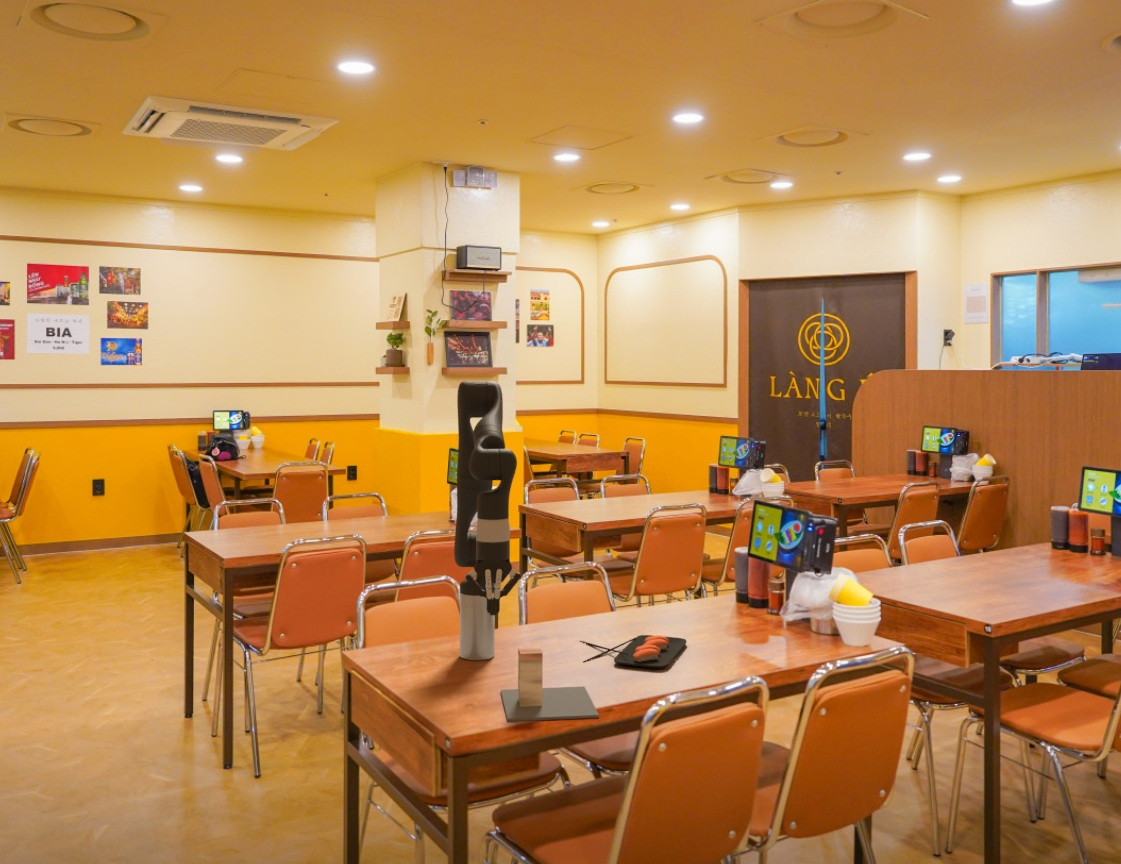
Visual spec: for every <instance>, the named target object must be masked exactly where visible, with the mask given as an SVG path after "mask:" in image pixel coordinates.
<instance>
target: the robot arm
mask: <svg viewBox="0 0 1121 864" xmlns="http://www.w3.org/2000/svg"><path fill="white" fill-rule="evenodd" d="M456 397H457V428H458V429H457V430H458V450H457V467H456V523H455V532H454V533H455V534H454V547H453V550H454V551H453V553H454V554H453V555H454V562H455V564H456V565H457V566H458V567H459V568H473V569H472V570H470V571H469V572H466V573H465V576H464V577H465V579H463V580H462V581H461V582H460V584H459V657H460V658H462V659H464V660H469V661H486V660H489V659H492V658H494V657H495V652H496V651H495V647H496V646H495V644H496V642H495V640H496V638H495V635H496V633H495V630H496V629H495V628H496V626H495V625H496V624H495V622H496V621H495V620H496V619H495V618H496V617H495V616H497V615H498V614H499V612H500V611H501V609H500V607H501V606H500V604H501V603H500V602H501V601H500V600H501V598H503V597H506V596H508V594H510V592H511V591H512V590H513V588H514V587H516V584H517V583H518V582H519V580H520V579H521V577H522V575H521V573H520V572H519V571H516V570H515V569H514V568H513V564H512V563H511V554H510V553H511V552H510V551H511V547H510V546H511V543H510V542H511V527H510V526H511V525H510V521H509V520H510V513H509V511H510V510H509V507H510V494H511V488H512V485H513V480H514V477H515V474H516V470H517V466H518V460H517V456H516V454H515V452H514V451H513V450H512V449H509V448H506V443H505V437H504V431H503V422H504V421H503V420H504V412H503V411H504V409H503V408H504V405H503V404H504V403H503V402H504V400H503V391H502V387H501V385H500V384H499V383H498V382H496V381H493V380H492V381H491V380H464V381H461V382H460V383H459V385H458V388H457V396H456ZM477 418H478V419H479V418H481V419H479V420H478V422H477V423H476V425H475V427H474V428H473V426H472V423H471V419H477ZM493 481H499V484H498V486H497V487H495V488H493V483H494V482H493ZM475 516H477V518H476V519H477V520H476V527H475V529H476V531H469V529H470V527H471V524H472V522H473V520H474V517H475ZM507 577H509V580H508V581H507V583H506V584H505V585H504V587H503V588H502V587H501V585H502V583H503V582H504V581H505V579H506V578H507Z"/></svg>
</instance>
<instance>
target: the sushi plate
mask: <svg viewBox="0 0 1121 864" xmlns="http://www.w3.org/2000/svg"><path fill="white" fill-rule="evenodd" d="M580 641H581V642H580V643H582V642H583V643H582V644H584V643H586V644H585V645H587V644H588V645H587V646H589V645H590V646H589V647H594V648H598V649H602V650H605V651H602V652H601V653H599V654H597V655H594V656H592V657H590V658H588V659H585V660H583V661H582V662H583V663H586V661H587V662H589V660H590V661H591V659H593V660H595V659H594V658H596V659H598V658H600V657H602V656H603V655H606V654H608V653H610V652H614V653H618V654H617V655H616V656H615V657H614V659H613V662H614V663H615V664H618V665H626V666H631V665H632V667H638V666H640V667H639V668H650V669H651V668H659V669H660V668H665V667H668V666H669V665H670V664H671V663H672V662H673V660H674V659H675V658H676V657H677V656H678V654H679V653H680V652H681V651H682V649H684V647H685V646H686V644H687V639H685V638H681V637H674V636H673V637H672V636H664V635H657V634H656V635H651V634H642V635H637V636H635V637H633V638H631V639H629V640H628V641H624V642H622V643H620V644H618V645H617V646H615V647H612V648H608V647H605V646H601V645H597V644H594V643H591V642H586V641H584V640H583V641H582V640H580ZM626 644H627V645H626ZM624 645H626V646H625V647H624V648H623V649H622V650H621V651H619V650H616V649H617V648H620V647H622V646H624ZM597 657H598V658H597Z"/></svg>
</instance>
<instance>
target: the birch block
mask: <svg viewBox="0 0 1121 864" xmlns="http://www.w3.org/2000/svg"><path fill="white" fill-rule="evenodd" d="M517 649H518V650H517V652H518V653H517V654H518V656H517V657H518V658H517V660H518V661H517V663H518V664H517V666H518V667H517V676H518V677H517V689H518V701H519V704H520V707H523V706H542V688H543V651H542V648H541V647H540V646H529V647H527V646H525V647H518V648H517Z"/></svg>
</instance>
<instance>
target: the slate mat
mask: <svg viewBox="0 0 1121 864" xmlns="http://www.w3.org/2000/svg"><path fill="white" fill-rule="evenodd" d="M500 695H501V700H502V703H503V708H504V713H505V716H506V717H505V718H506V721H507V722H527V721H531V722H532V721H547V720H548V721H550V720H575V719H595V718H596V719H597V718H600V715H599V712H598V711H597V708H596V707H595V704H594V703H593V701H592V699H591V697H590V695H589V692H588V690H587V689H586V687H585V686H566V687H565V686H560V687H559V686H558V687H542V706H523V707H520V704H519V701H518V688H513V689H512V688H511V689H509V688H508V689H500Z"/></svg>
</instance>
